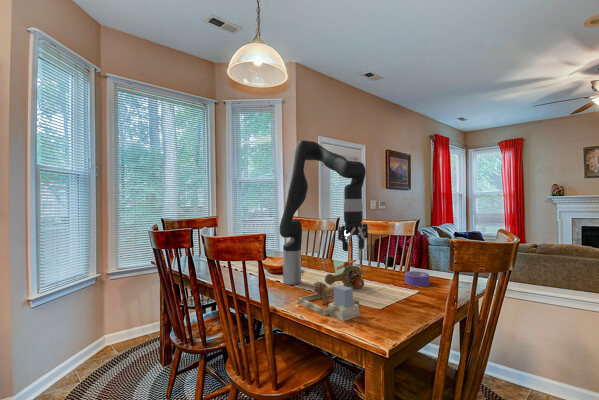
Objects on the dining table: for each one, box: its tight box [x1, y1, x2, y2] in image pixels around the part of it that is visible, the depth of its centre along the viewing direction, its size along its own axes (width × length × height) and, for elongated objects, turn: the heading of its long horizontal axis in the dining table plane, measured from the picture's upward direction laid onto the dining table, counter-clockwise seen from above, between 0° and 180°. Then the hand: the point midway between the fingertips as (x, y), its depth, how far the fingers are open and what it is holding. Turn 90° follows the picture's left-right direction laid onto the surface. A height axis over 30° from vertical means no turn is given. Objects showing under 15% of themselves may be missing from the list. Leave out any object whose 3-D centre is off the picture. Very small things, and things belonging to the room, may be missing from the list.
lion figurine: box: [312, 281, 335, 305], centre depth 124 cm, size 15×5×9 cm, turn 51°
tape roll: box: [404, 270, 430, 288], centre depth 153 cm, size 12×12×5 cm
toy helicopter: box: [324, 259, 365, 289], centre depth 145 cm, size 8×21×14 cm, turn 118°
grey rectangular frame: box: [297, 293, 360, 322], centre depth 121 cm, size 26×18×4 cm
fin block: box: [333, 284, 354, 307], centre depth 112 cm, size 6×4×6 cm, turn 34°
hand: (353, 249), depth 122 cm, fingers open, 8 cm apart
